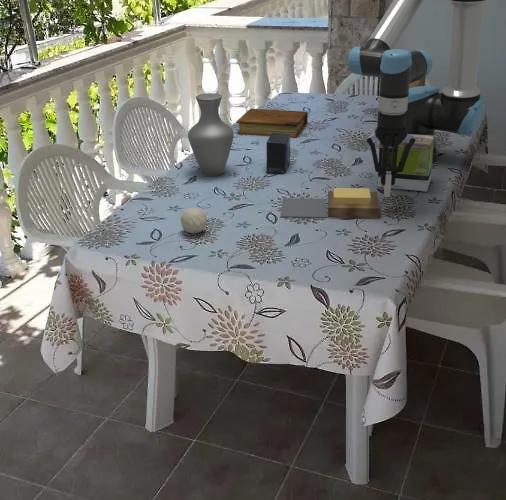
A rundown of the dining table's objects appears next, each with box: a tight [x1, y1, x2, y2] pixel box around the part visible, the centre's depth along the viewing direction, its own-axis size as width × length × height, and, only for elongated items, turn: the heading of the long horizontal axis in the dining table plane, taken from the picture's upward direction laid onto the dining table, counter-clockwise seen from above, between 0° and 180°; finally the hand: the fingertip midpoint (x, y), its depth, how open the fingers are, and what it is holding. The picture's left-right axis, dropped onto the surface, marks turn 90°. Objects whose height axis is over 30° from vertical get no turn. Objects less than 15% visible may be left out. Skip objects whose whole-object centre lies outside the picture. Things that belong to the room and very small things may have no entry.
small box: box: [265, 133, 291, 175], centre depth 223 cm, size 11×6×10 cm, turn 168°
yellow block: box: [333, 187, 371, 205], centre depth 192 cm, size 10×7×2 cm
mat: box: [280, 197, 327, 219], centre depth 195 cm, size 12×13×1 cm
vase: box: [187, 92, 235, 177], centre depth 217 cm, size 14×14×25 cm
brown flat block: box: [327, 190, 381, 220], centre depth 193 cm, size 14×12×3 cm
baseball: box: [180, 207, 208, 234], centre depth 181 cm, size 7×7×7 cm
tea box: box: [377, 134, 434, 193], centre depth 207 cm, size 15×10×15 cm
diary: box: [236, 108, 309, 139], centre depth 264 cm, size 23×19×6 cm
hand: (386, 195), depth 191 cm, fingers closed
